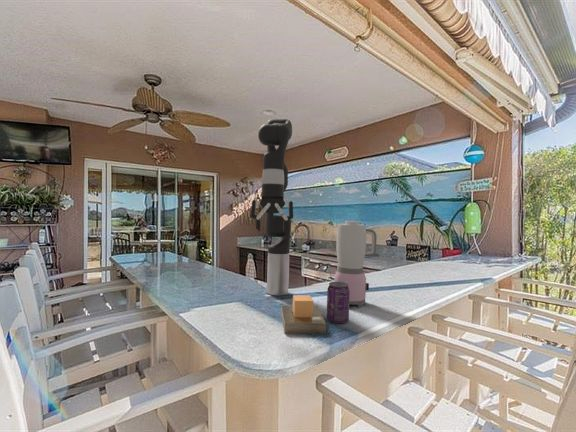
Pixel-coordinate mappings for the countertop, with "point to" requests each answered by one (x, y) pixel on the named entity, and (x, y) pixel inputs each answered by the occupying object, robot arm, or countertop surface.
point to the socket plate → (302, 322)
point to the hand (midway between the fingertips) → (271, 231)
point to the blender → (353, 258)
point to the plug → (302, 306)
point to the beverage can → (338, 302)
